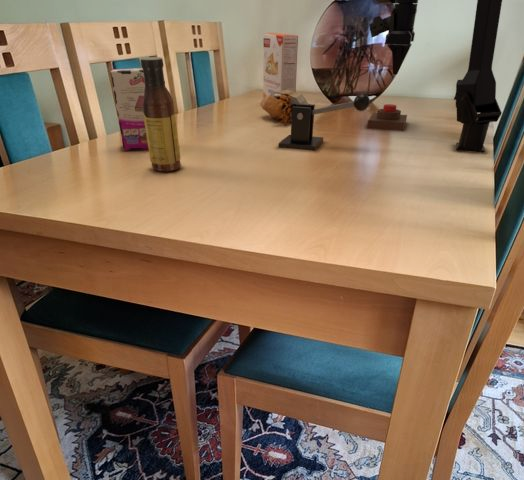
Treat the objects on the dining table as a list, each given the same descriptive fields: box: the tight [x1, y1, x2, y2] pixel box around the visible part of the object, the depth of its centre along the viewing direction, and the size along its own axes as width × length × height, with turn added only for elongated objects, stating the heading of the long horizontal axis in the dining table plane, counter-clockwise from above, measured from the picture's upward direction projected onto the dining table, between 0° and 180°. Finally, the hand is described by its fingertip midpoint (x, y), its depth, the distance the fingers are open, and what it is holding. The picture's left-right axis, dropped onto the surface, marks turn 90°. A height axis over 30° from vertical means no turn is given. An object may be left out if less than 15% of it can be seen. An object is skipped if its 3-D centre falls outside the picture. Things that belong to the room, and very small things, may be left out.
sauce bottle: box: [140, 56, 181, 173], centre depth 91 cm, size 7×6×20 cm
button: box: [382, 103, 397, 112], centre depth 132 cm, size 4×4×2 cm
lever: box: [311, 93, 371, 116], centre depth 108 cm, size 17×4×4 cm, turn 72°
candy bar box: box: [109, 67, 149, 152], centre depth 107 cm, size 11×5×16 cm, turn 105°
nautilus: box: [260, 89, 309, 126], centre depth 137 cm, size 8×22×15 cm
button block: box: [366, 108, 408, 132], centre depth 134 cm, size 12×10×4 cm
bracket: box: [278, 103, 324, 152], centre depth 112 cm, size 9×10×9 cm
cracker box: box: [262, 32, 299, 100], centre depth 153 cm, size 14×6×21 cm, turn 25°
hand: (394, 74), depth 127 cm, fingers closed
